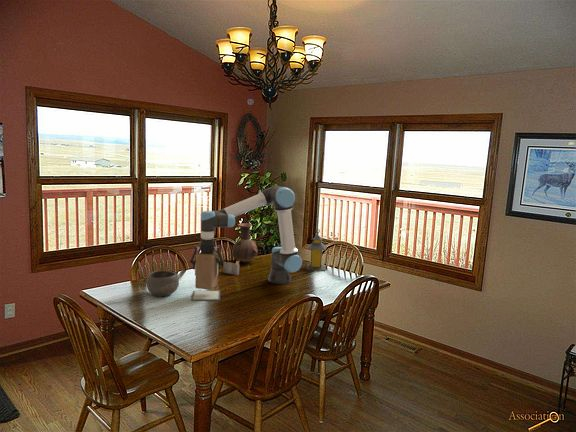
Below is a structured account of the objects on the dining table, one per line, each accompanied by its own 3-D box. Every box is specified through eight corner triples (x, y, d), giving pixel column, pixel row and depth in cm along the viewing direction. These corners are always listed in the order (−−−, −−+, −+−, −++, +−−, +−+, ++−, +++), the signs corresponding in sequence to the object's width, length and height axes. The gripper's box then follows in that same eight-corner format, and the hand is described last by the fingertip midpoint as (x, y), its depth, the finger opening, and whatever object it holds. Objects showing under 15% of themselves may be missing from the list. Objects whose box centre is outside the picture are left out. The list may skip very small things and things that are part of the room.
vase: (223, 262, 324) (224, 223, 319) (239, 257, 341) (240, 221, 337) (250, 267, 312) (251, 227, 307) (265, 262, 329) (266, 224, 325)
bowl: (184, 292, 251) (184, 271, 249) (166, 301, 234) (166, 279, 232) (159, 288, 256) (159, 268, 255) (139, 297, 239) (139, 275, 238)
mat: (220, 291, 255) (220, 290, 255) (220, 300, 239) (220, 299, 239) (193, 291, 253) (193, 290, 252) (191, 300, 237) (191, 299, 237)
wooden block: (211, 290, 239) (211, 256, 236) (194, 288, 241) (195, 254, 238) (217, 285, 249) (218, 252, 246) (201, 283, 251) (202, 250, 248)
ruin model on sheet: (239, 274, 295) (239, 261, 293) (237, 275, 292) (237, 261, 290) (225, 272, 299) (225, 258, 298) (223, 273, 296) (223, 259, 295)
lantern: (307, 265, 327) (309, 227, 322) (325, 266, 325) (327, 228, 320) (305, 269, 313) (307, 230, 308) (324, 271, 311) (327, 231, 307)
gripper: (228, 237, 247) (227, 273, 250) (186, 236, 243) (185, 272, 246) (228, 239, 239) (227, 276, 242) (185, 239, 236) (184, 276, 239)
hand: (206, 274), depth 244 cm, fingers closed on wooden block, 12 cm apart
